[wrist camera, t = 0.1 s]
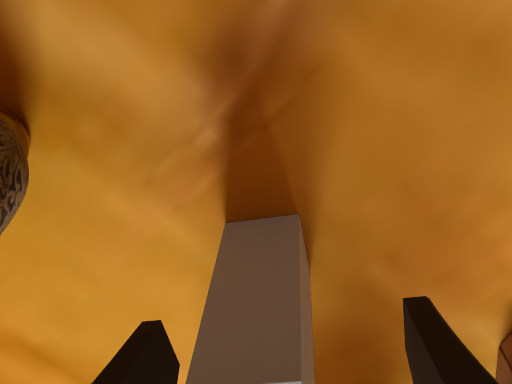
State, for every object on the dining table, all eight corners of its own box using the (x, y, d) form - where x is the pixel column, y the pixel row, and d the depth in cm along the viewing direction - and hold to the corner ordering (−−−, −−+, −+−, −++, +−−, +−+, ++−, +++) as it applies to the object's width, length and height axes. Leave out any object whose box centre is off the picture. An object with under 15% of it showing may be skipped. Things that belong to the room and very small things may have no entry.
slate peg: (309, 272, 24) (318, 451, 16) (241, 279, 25) (213, 455, 16) (299, 213, 23) (301, 381, 14) (225, 223, 23) (184, 388, 15)
